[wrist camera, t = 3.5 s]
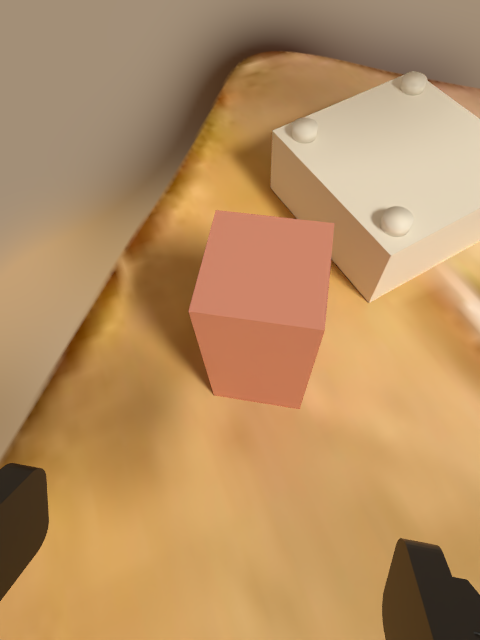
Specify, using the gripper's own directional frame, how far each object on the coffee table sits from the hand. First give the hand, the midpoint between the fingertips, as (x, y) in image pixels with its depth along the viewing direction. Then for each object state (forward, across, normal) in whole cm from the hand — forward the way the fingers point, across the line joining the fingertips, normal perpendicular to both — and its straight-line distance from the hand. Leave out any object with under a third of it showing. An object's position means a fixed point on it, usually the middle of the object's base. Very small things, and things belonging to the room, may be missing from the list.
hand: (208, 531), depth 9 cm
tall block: (+16, 0, +2) cm, 16 cm away
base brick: (+25, -7, -7) cm, 27 cm away
